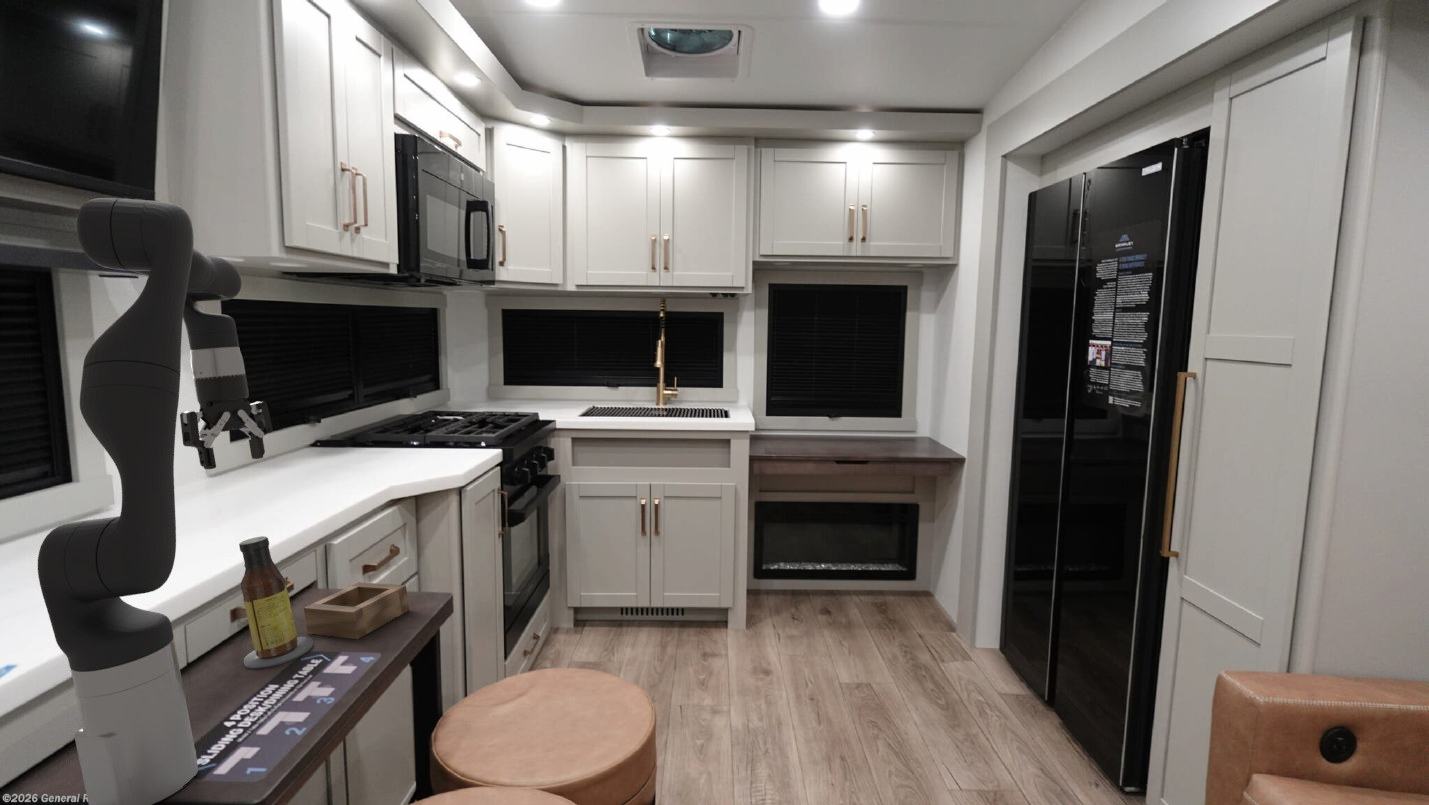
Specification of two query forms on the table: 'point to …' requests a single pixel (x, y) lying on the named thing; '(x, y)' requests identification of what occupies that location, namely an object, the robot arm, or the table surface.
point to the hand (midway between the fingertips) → (234, 463)
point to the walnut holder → (356, 610)
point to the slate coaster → (257, 663)
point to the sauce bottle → (266, 601)
